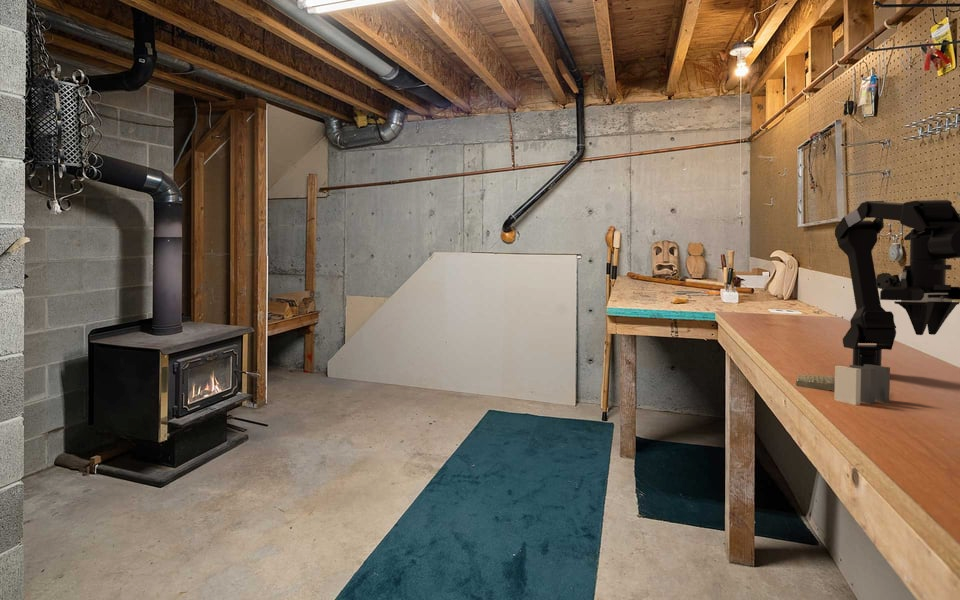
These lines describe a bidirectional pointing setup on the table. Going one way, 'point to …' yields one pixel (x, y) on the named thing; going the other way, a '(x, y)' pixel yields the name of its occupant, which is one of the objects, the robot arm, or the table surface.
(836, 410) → the table surface
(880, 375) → the domino
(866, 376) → the domino
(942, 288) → the robot arm
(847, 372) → the end domino
